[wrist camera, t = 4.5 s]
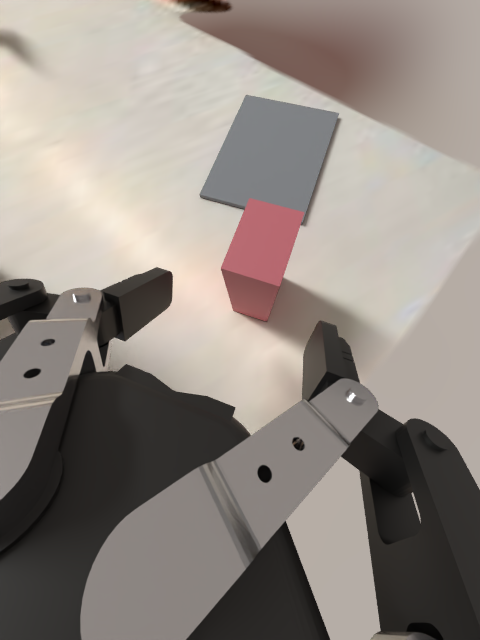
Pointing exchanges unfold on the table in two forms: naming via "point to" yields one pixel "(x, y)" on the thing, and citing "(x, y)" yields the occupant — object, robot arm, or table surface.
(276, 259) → the card box
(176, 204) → the table surface
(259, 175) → the rubber mat
